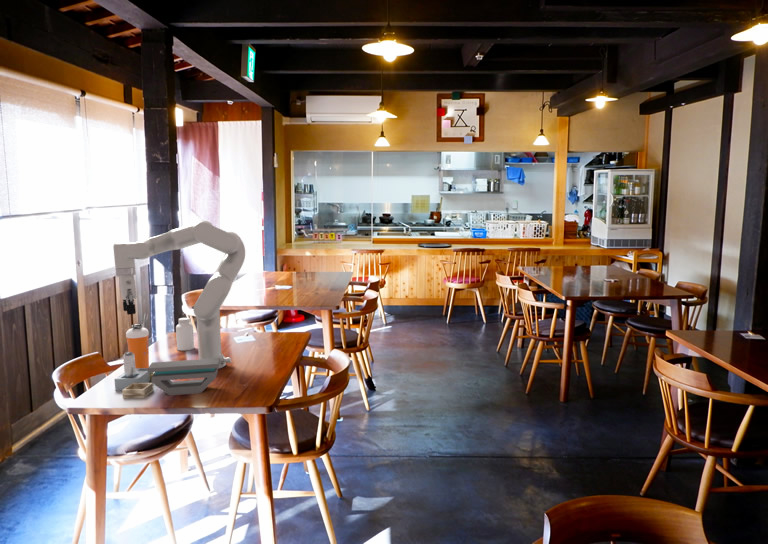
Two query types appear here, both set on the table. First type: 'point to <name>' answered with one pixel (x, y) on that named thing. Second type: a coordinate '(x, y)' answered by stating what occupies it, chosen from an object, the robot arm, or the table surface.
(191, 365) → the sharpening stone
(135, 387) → the wooden tray
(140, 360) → the shaker bottle
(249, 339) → the table surface
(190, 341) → the pill bottle
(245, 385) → the table surface
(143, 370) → the socket block
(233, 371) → the table surface
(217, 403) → the table surface
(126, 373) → the drill peg
